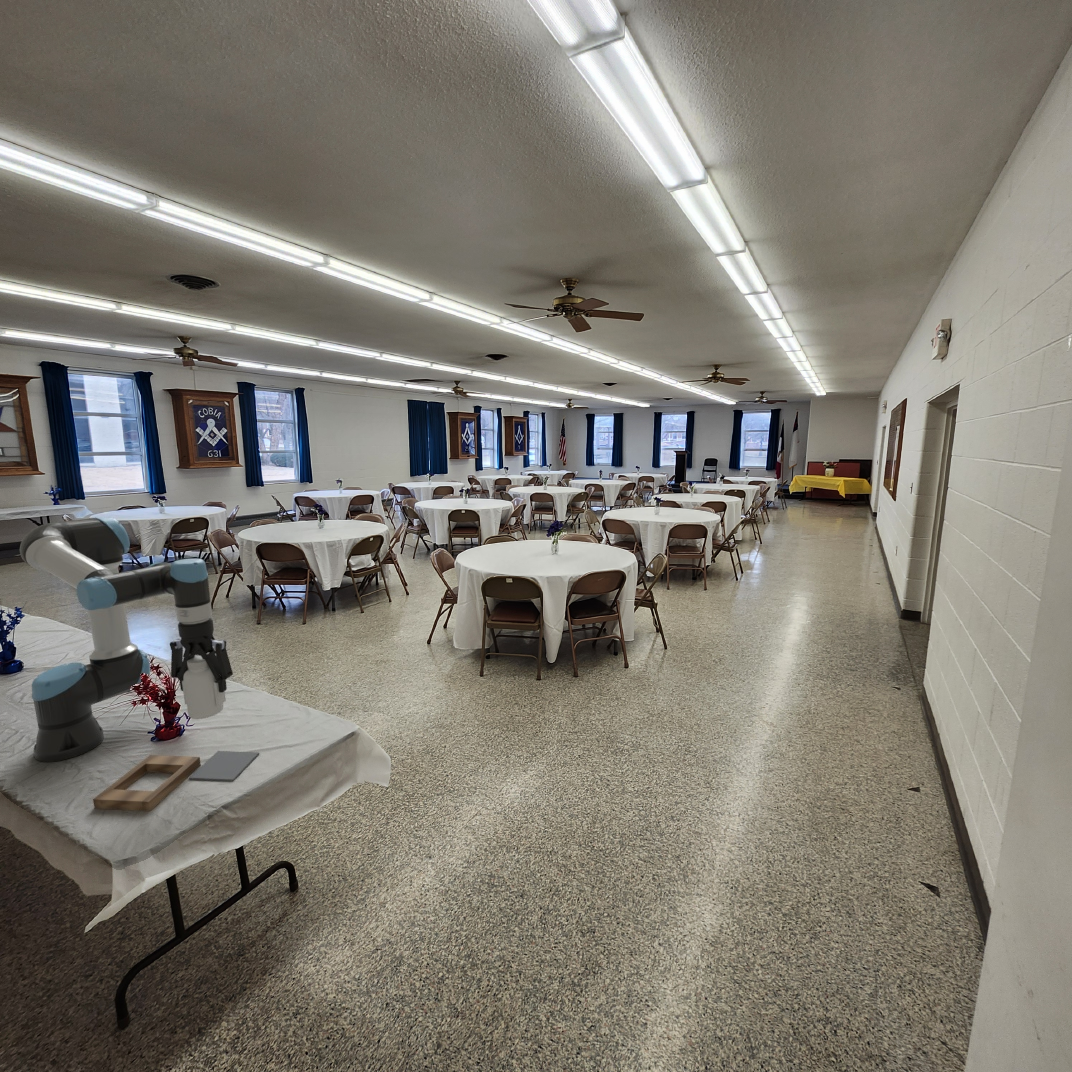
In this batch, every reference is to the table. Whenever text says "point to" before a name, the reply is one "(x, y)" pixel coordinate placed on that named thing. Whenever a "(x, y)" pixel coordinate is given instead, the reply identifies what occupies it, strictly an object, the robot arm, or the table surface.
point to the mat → (224, 766)
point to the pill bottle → (200, 689)
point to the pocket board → (146, 800)
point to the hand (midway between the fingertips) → (205, 702)
